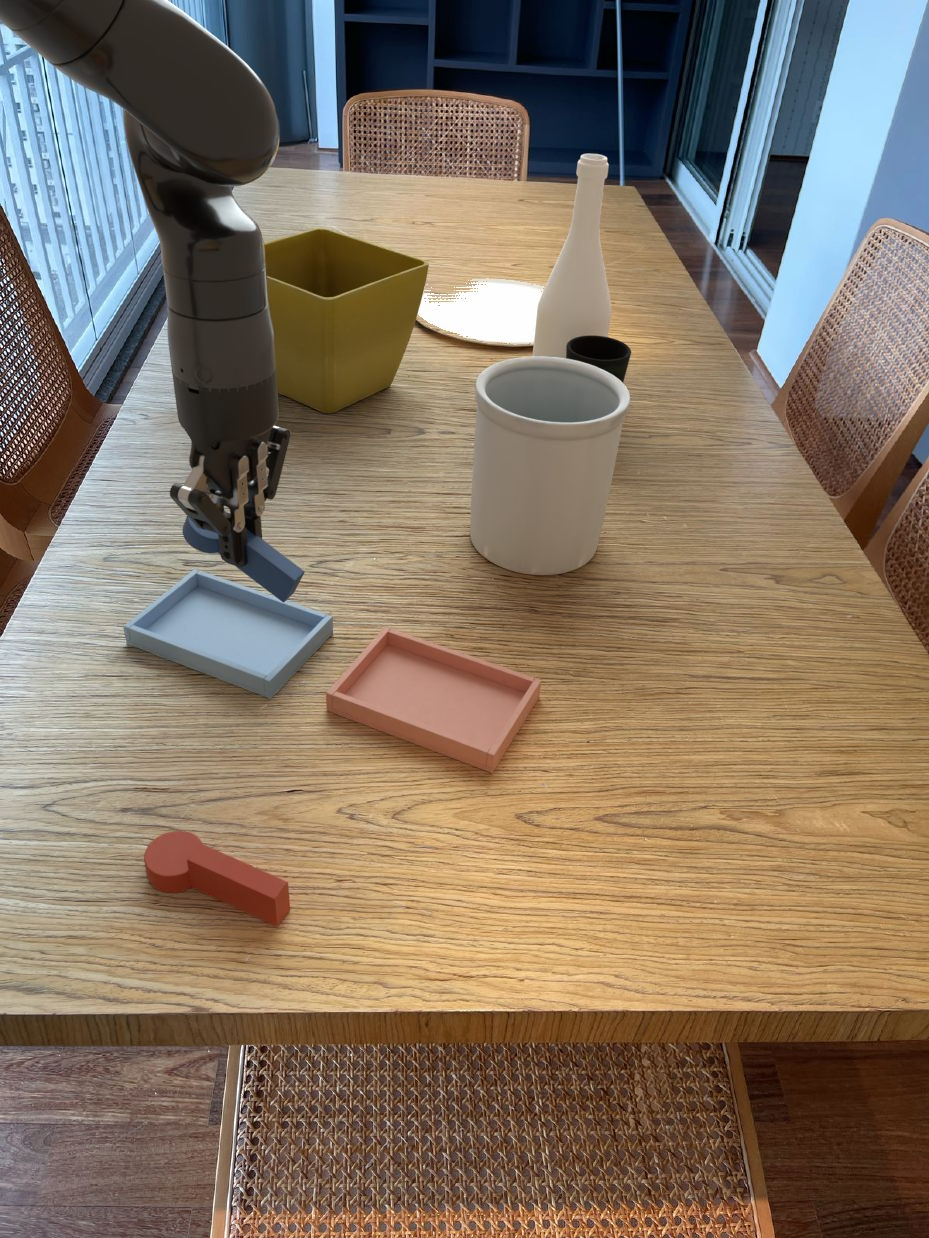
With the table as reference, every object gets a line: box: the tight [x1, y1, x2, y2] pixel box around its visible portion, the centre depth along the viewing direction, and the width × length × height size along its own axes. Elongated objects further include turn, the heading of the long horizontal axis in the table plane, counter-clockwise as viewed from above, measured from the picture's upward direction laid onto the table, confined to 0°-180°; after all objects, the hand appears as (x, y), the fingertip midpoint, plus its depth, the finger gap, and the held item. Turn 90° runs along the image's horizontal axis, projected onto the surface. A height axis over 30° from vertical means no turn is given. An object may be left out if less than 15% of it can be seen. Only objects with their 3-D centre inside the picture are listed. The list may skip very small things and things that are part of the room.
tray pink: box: [325, 626, 543, 774], centre depth 85 cm, size 15×10×2 cm
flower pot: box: [264, 227, 430, 414], centre depth 128 cm, size 19×19×17 cm
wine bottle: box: [532, 153, 613, 359], centre depth 127 cm, size 10×10×30 cm
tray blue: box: [123, 568, 334, 699], centre depth 90 cm, size 15×10×2 cm
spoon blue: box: [181, 509, 306, 603], centre depth 84 cm, size 11×4×3 cm, turn 65°
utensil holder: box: [469, 355, 631, 576], centre depth 101 cm, size 15×15×18 cm
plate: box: [416, 278, 545, 348], centre depth 157 cm, size 29×29×1 cm
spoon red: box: [143, 830, 291, 928], centre depth 68 cm, size 11×4×3 cm, turn 65°
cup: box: [566, 335, 632, 384], centre depth 122 cm, size 8×8×12 cm
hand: (242, 557), depth 84 cm, fingers closed on spoon blue, 1 cm apart
